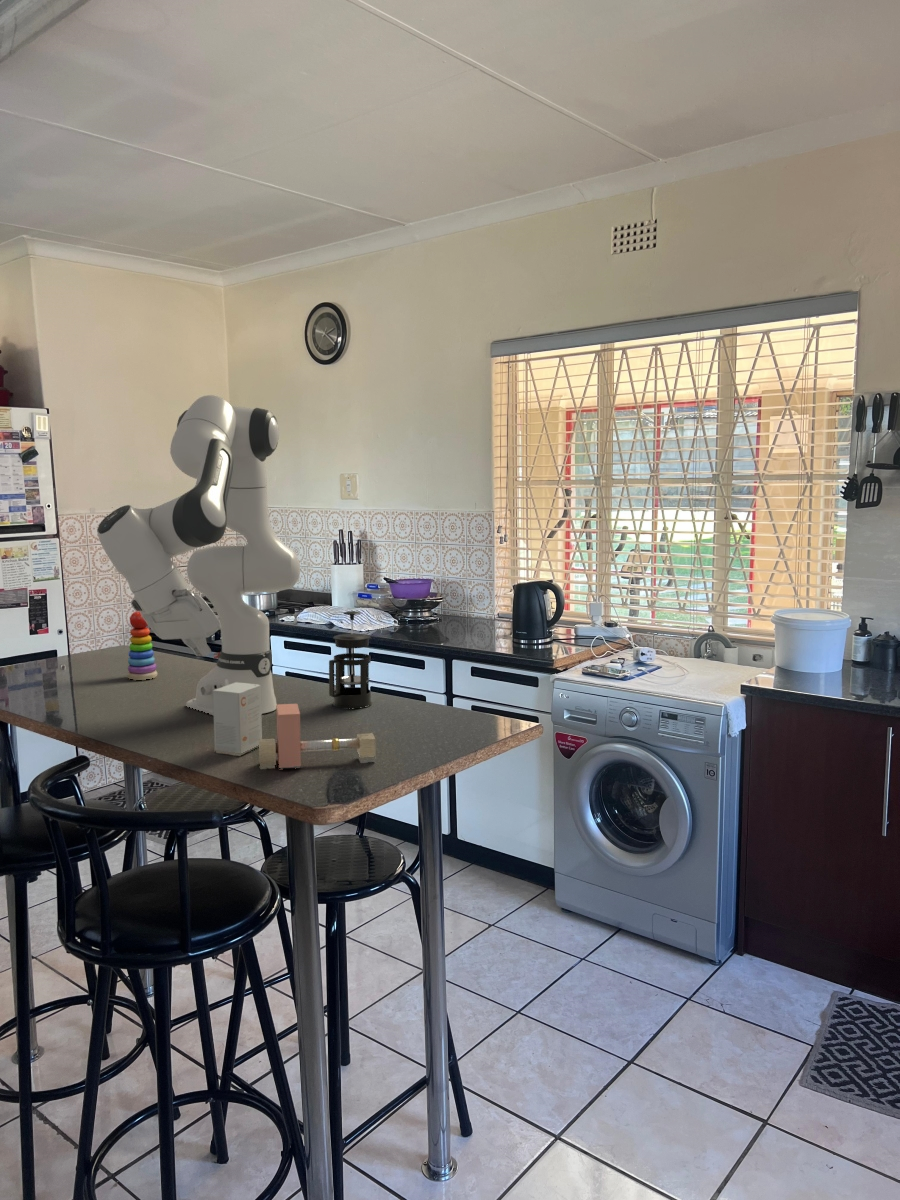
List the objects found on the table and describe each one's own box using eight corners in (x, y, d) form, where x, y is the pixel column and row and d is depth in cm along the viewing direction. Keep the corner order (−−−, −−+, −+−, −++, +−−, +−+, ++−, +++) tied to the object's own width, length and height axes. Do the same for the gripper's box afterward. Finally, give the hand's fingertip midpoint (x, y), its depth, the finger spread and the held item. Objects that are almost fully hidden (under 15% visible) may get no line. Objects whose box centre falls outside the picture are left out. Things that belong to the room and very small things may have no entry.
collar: (279, 769, 169) (278, 714, 167) (277, 756, 176) (276, 704, 175) (300, 768, 170) (300, 713, 168) (297, 755, 177) (297, 703, 176)
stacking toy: (125, 676, 249) (123, 609, 247) (155, 674, 253) (153, 608, 250) (128, 682, 242) (125, 613, 240) (159, 679, 246) (157, 611, 243)
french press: (357, 697, 227) (357, 607, 224) (381, 704, 221) (381, 611, 218) (319, 705, 219) (318, 611, 216) (343, 712, 213) (342, 616, 210)
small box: (236, 742, 187) (235, 681, 186) (263, 746, 185) (261, 684, 183) (213, 753, 180) (211, 689, 178) (240, 757, 178) (239, 692, 176)
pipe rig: (259, 769, 170) (259, 745, 169) (259, 763, 174) (258, 739, 173) (375, 762, 175) (375, 738, 174) (372, 756, 179) (372, 733, 178)
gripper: (203, 578, 155) (245, 643, 160) (153, 585, 170) (193, 645, 175) (174, 598, 151) (218, 664, 156) (126, 604, 167) (167, 664, 171)
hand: (204, 654), depth 166 cm, fingers closed
